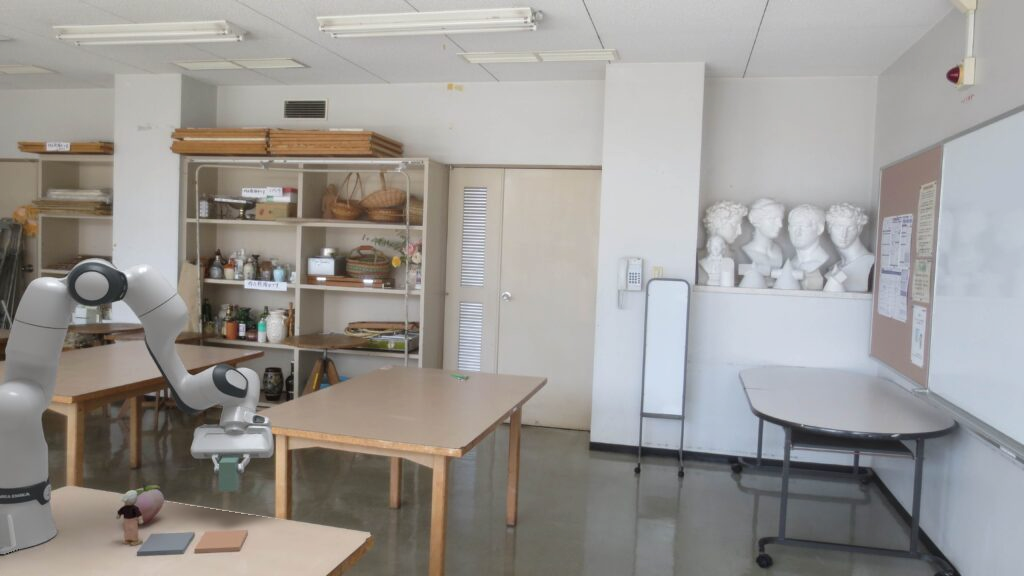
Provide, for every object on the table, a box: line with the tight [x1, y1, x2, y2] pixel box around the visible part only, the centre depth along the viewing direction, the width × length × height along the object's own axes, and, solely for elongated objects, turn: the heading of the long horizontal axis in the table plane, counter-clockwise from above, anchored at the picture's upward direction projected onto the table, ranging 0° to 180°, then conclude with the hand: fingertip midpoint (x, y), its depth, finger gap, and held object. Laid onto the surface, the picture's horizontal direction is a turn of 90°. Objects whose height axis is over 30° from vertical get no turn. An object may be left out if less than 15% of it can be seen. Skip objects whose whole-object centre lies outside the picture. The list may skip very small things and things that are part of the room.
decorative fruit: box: [123, 484, 165, 524], centre depth 182 cm, size 9×8×10 cm
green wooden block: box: [218, 458, 240, 493], centre depth 182 cm, size 4×4×8 cm
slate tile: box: [136, 531, 196, 557], centre depth 170 cm, size 10×10×1 cm
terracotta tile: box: [194, 529, 249, 554], centre depth 172 cm, size 10×10×1 cm
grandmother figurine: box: [115, 489, 144, 546], centre depth 171 cm, size 8×4×13 cm, turn 84°
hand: (228, 471), depth 181 cm, fingers closed on green wooden block, 4 cm apart
